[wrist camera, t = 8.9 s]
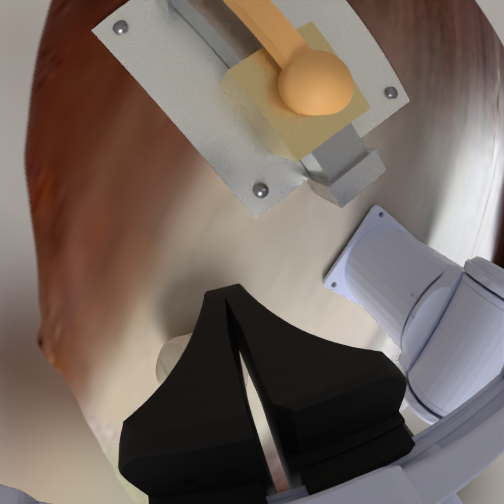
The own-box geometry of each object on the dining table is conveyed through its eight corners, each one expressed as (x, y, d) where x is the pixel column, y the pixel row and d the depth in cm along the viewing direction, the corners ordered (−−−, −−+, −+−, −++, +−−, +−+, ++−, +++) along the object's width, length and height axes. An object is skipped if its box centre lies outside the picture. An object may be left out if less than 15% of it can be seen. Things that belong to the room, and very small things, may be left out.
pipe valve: (362, 156, 20) (400, 165, 16) (306, 200, 21) (336, 219, 17) (214, -34, 12) (222, -68, 8) (145, 5, 13) (135, -25, 9)
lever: (346, 96, 14) (365, 94, 12) (302, 127, 14) (317, 127, 12) (208, -61, 8) (212, -79, 7) (157, -37, 9) (155, -54, 7)
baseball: (191, 297, 22) (196, 356, 16) (254, 343, 25) (273, 399, 19) (141, 346, 23) (134, 406, 17) (203, 383, 26) (211, 439, 20)
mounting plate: (405, 101, 19) (412, 101, 19) (254, 217, 21) (257, 221, 20) (275, -66, 12) (279, -72, 11) (93, 32, 13) (90, 29, 12)
